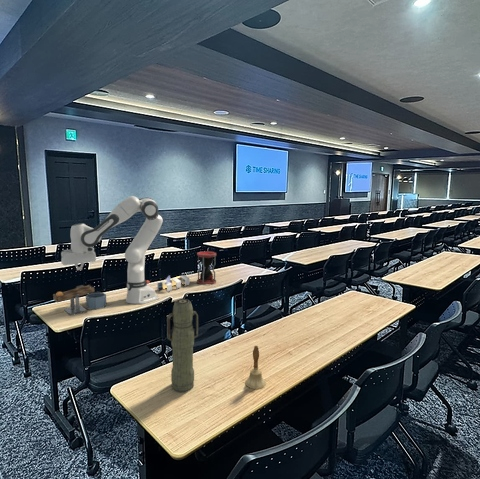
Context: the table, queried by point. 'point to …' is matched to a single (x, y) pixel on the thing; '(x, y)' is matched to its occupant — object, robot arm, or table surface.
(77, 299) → the lever stand
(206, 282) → the hourglass
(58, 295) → the ball
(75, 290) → the lever
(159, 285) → the diorama
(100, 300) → the blue-grey box
